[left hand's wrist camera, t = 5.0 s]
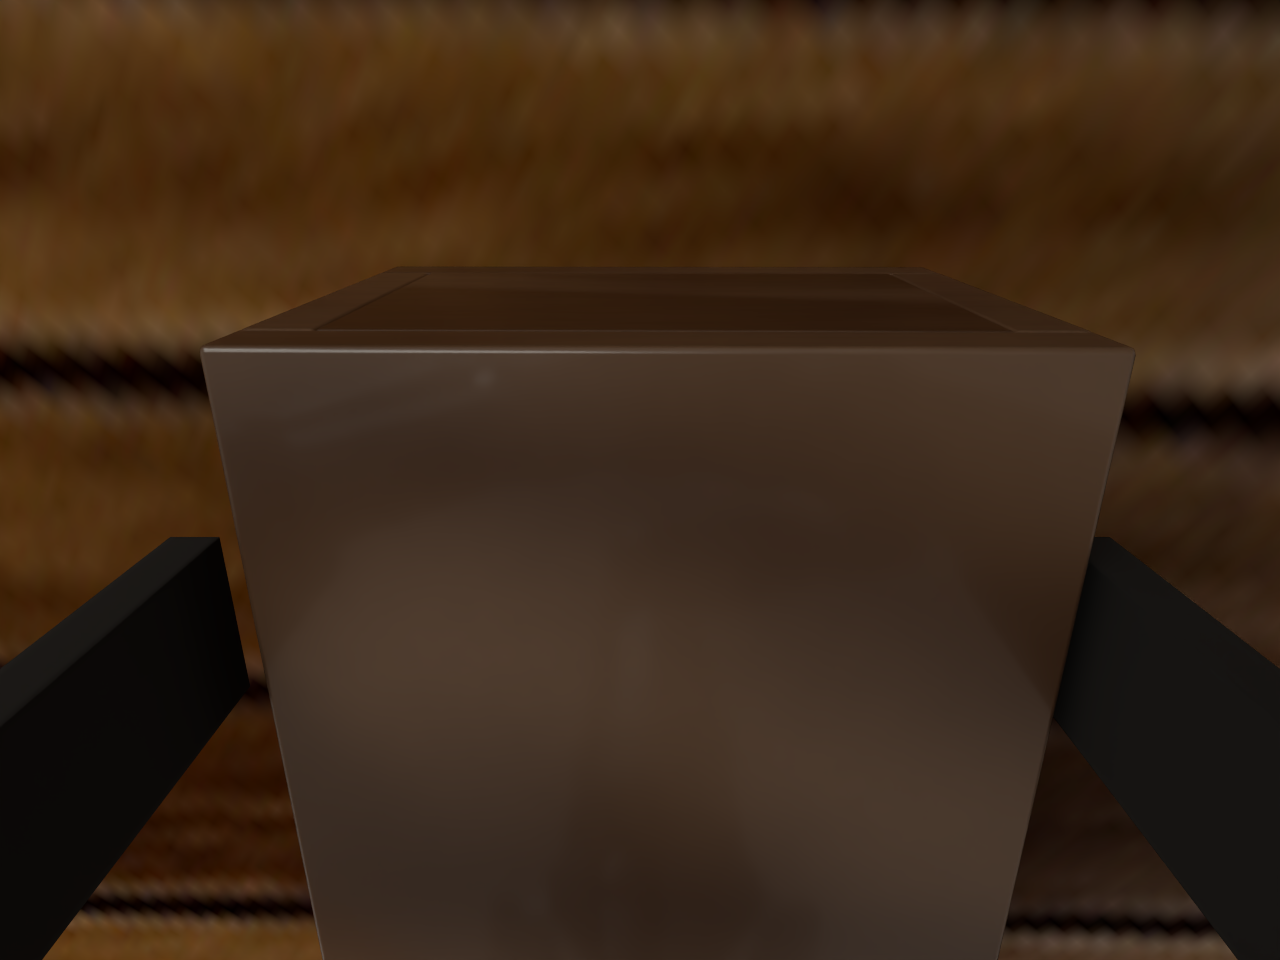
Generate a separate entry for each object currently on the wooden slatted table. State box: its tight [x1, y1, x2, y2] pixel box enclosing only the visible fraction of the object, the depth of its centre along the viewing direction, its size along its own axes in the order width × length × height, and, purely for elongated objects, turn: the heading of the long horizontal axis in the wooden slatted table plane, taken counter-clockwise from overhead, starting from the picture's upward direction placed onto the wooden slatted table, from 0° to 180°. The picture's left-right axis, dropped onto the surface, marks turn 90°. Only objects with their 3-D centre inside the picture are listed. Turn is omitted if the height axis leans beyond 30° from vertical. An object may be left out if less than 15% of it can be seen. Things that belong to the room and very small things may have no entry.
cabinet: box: [200, 267, 1135, 960], centre depth 17 cm, size 20×12×8 cm, turn 0°
